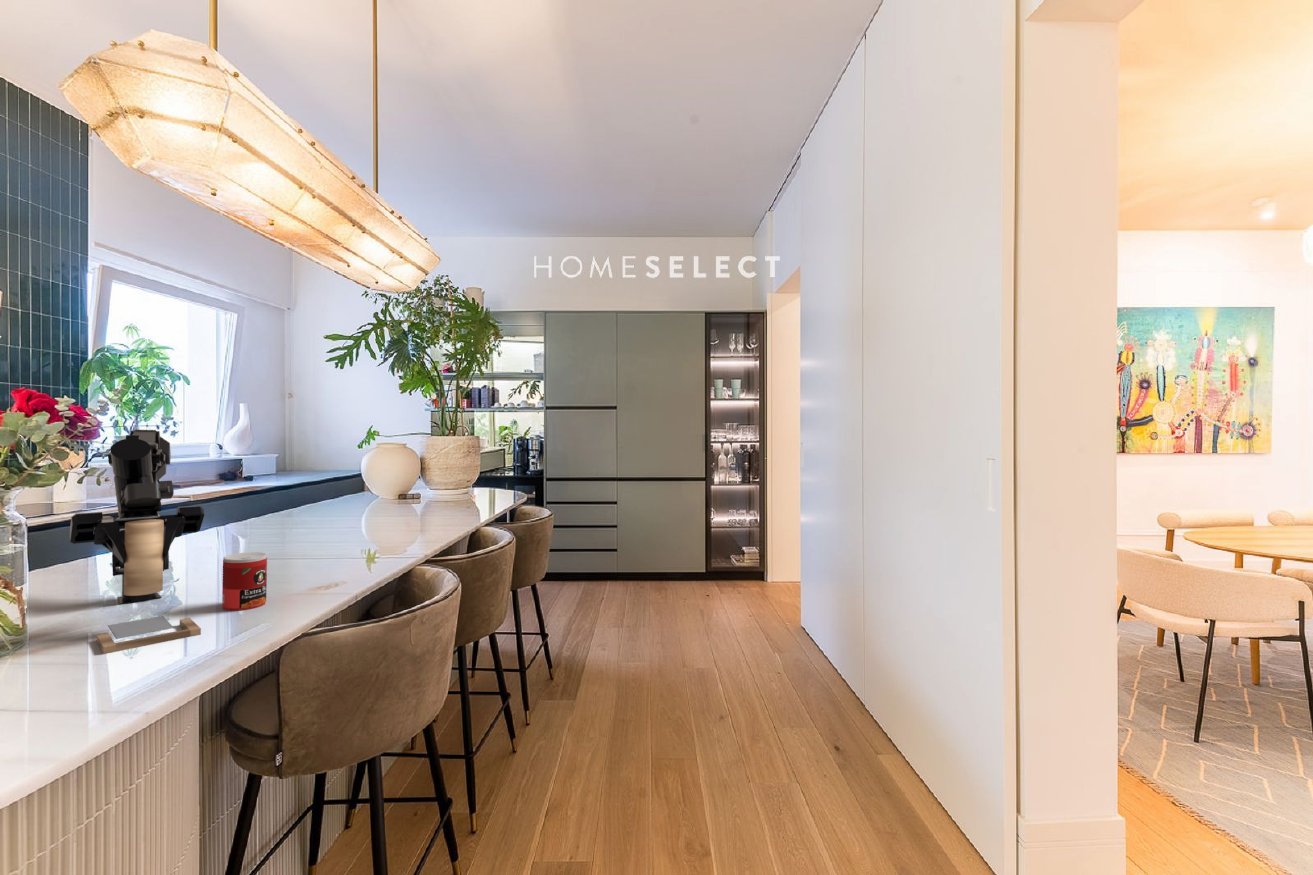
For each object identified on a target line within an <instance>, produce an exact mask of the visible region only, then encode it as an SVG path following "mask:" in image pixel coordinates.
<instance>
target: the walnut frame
mask: <svg viewBox="0 0 1313 875" xmlns="http://www.w3.org/2000/svg"><path fill="white" fill-rule="evenodd" d="M179 626H180V627H181V630H177V631H171V632H167V633H160V634H156V635H149V636H145V637H140V638H133V639H130V640H125V641H119V642H115V641H114V640H113V638H112V636H111V634H110V633H109V632H103V633H97V634H96V643H97V645H98V646H99V648H100V650H101V652H102V654H103V655H107V654H111V653H116V652H120V651H126V650H130V649H137V648H141V647H146V646H152V645H156V644H157V645H158V644H161V643H167V642H172V641H176V640H182V639H186V638H191V637H196V636H200V635H201V634H202V628H201V627H200V626H199V625H198V624H196V622H195V621H194V620H193V619H192V618H190V617H186V618H185V617H184V618H180V619H179Z"/></svg>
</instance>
